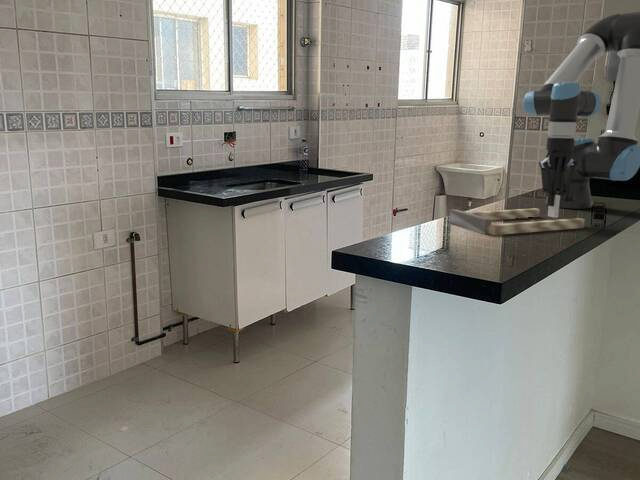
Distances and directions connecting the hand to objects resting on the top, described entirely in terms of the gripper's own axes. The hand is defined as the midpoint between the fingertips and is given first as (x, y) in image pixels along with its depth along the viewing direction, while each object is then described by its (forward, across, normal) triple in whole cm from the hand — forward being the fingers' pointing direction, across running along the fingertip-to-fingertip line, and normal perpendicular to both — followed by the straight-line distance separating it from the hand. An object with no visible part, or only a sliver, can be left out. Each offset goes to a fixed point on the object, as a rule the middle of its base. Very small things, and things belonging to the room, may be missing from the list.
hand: (552, 216), depth 180 cm
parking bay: (+2, +14, 0) cm, 14 cm away
